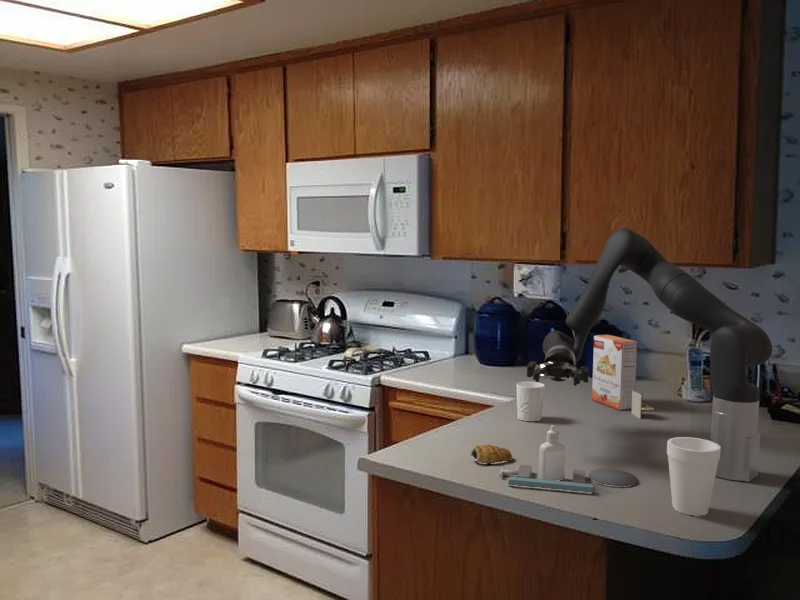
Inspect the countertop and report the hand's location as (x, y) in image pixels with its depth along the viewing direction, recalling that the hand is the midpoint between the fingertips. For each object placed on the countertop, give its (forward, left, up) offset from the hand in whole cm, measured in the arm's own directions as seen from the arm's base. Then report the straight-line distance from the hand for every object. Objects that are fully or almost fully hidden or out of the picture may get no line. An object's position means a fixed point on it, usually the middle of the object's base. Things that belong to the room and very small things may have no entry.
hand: (556, 379), depth 166 cm
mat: (-15, +1, -19) cm, 25 cm away
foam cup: (-34, +6, -20) cm, 40 cm away
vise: (-6, +12, -19) cm, 24 cm away
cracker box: (+18, -61, -20) cm, 67 cm away
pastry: (+11, +10, -20) cm, 25 cm away
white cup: (+26, -28, -20) cm, 43 cm away
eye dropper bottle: (-6, +11, -20) cm, 23 cm away
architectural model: (+6, -54, -20) cm, 58 cm away
